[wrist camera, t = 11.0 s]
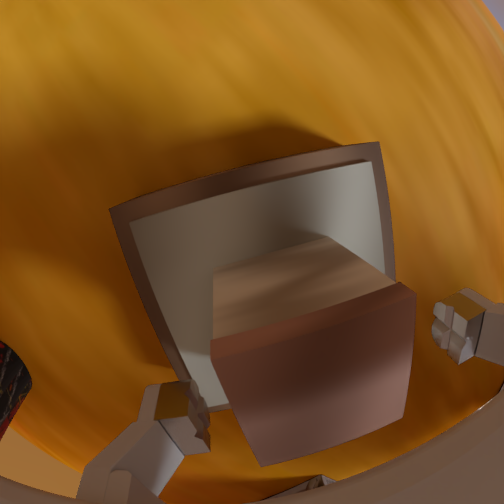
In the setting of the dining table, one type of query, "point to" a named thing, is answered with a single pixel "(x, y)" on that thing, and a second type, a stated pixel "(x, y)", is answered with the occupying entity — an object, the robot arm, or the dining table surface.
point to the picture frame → (246, 237)
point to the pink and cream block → (310, 347)
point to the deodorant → (11, 385)
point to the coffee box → (306, 486)
